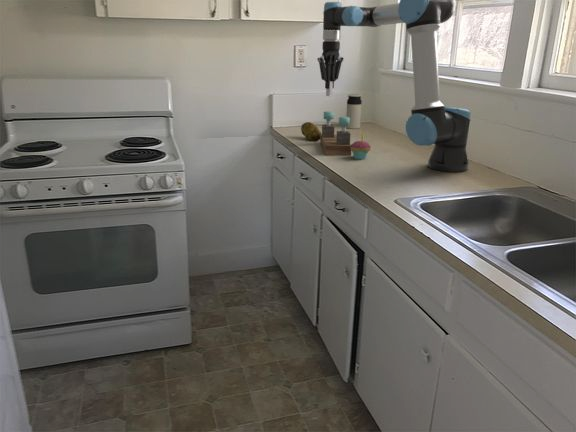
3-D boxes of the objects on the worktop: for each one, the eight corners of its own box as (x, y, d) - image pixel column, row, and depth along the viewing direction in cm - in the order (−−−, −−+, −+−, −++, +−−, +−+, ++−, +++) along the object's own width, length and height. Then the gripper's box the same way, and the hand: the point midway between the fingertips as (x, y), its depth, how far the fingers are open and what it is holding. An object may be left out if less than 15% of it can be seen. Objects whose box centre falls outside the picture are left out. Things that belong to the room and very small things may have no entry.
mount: (351, 155, 206) (352, 134, 203) (325, 155, 206) (326, 134, 202) (343, 142, 230) (343, 123, 227) (320, 142, 230) (320, 123, 227)
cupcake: (354, 154, 207) (356, 127, 203) (373, 157, 203) (375, 129, 199) (346, 158, 200) (347, 130, 196) (365, 161, 196) (367, 132, 192)
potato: (306, 142, 231) (307, 125, 228) (299, 137, 242) (299, 121, 239) (323, 141, 233) (323, 125, 230) (314, 136, 244) (315, 120, 241)
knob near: (349, 136, 206) (350, 118, 203) (338, 136, 206) (339, 118, 203) (347, 134, 210) (348, 116, 207) (337, 134, 210) (338, 116, 207)
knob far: (333, 130, 221) (334, 112, 218) (323, 130, 221) (324, 112, 218) (332, 128, 225) (333, 111, 222) (322, 128, 225) (323, 111, 222)
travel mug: (361, 128, 266) (363, 95, 260) (347, 129, 265) (349, 95, 258) (357, 126, 273) (359, 94, 267) (344, 126, 272) (345, 94, 266)
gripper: (338, 40, 216) (335, 94, 224) (314, 40, 209) (312, 95, 217) (348, 41, 210) (345, 96, 218) (324, 40, 203) (322, 97, 212)
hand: (329, 96), depth 218 cm, fingers closed
